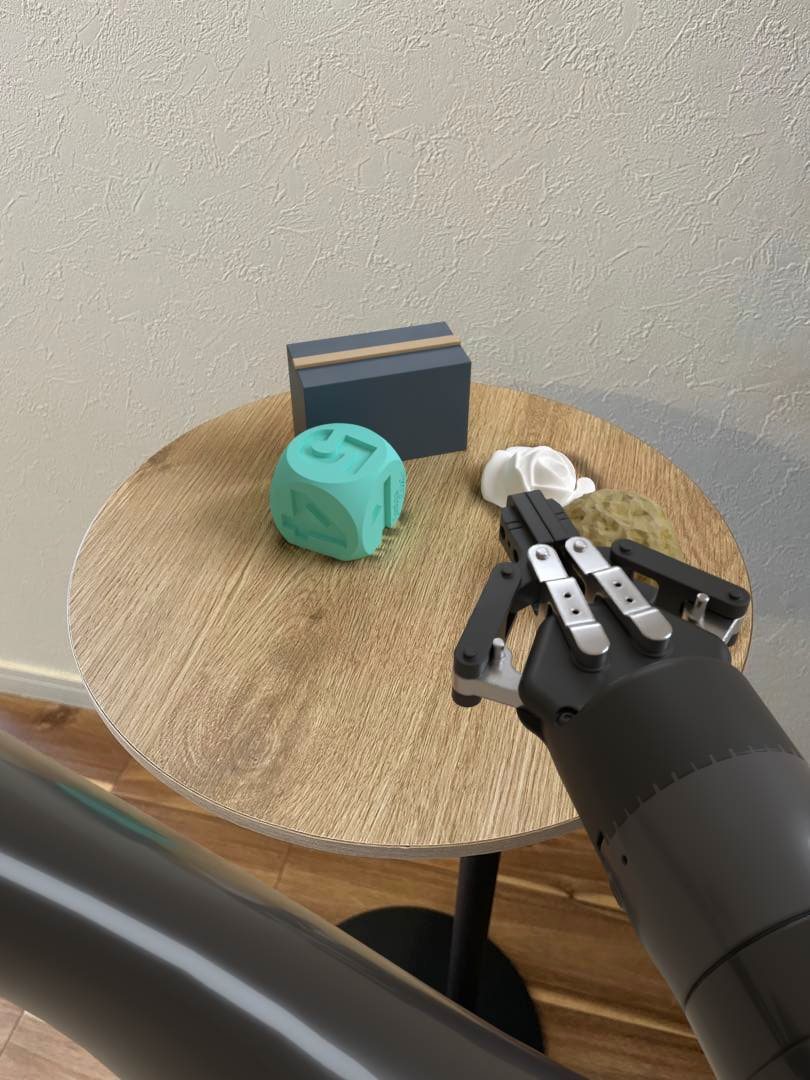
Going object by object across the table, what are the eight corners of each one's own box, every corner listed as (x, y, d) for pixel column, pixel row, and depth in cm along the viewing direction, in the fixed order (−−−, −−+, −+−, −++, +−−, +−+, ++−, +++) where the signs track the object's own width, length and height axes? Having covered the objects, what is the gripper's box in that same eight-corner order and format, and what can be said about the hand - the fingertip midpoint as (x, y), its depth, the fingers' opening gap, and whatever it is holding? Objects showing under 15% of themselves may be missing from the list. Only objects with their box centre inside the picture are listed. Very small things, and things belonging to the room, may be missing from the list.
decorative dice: (362, 577, 74) (359, 496, 69) (273, 547, 77) (263, 467, 72) (407, 516, 80) (407, 437, 74) (322, 490, 82) (316, 412, 77)
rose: (466, 427, 82) (574, 412, 83) (464, 469, 85) (569, 454, 86) (502, 501, 74) (620, 483, 76) (498, 544, 77) (612, 525, 79)
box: (310, 487, 83) (302, 385, 76) (294, 441, 88) (285, 340, 81) (467, 460, 86) (472, 358, 79) (442, 416, 91) (445, 317, 84)
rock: (586, 677, 72) (670, 629, 64) (497, 554, 73) (568, 492, 65) (659, 619, 77) (745, 568, 69) (575, 506, 79) (650, 443, 71)
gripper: (924, 715, 31) (665, 415, 43) (537, 818, 28) (379, 465, 40) (851, 842, 36) (637, 541, 48) (516, 940, 33) (381, 593, 45)
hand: (520, 507), depth 44 cm, fingers closed
